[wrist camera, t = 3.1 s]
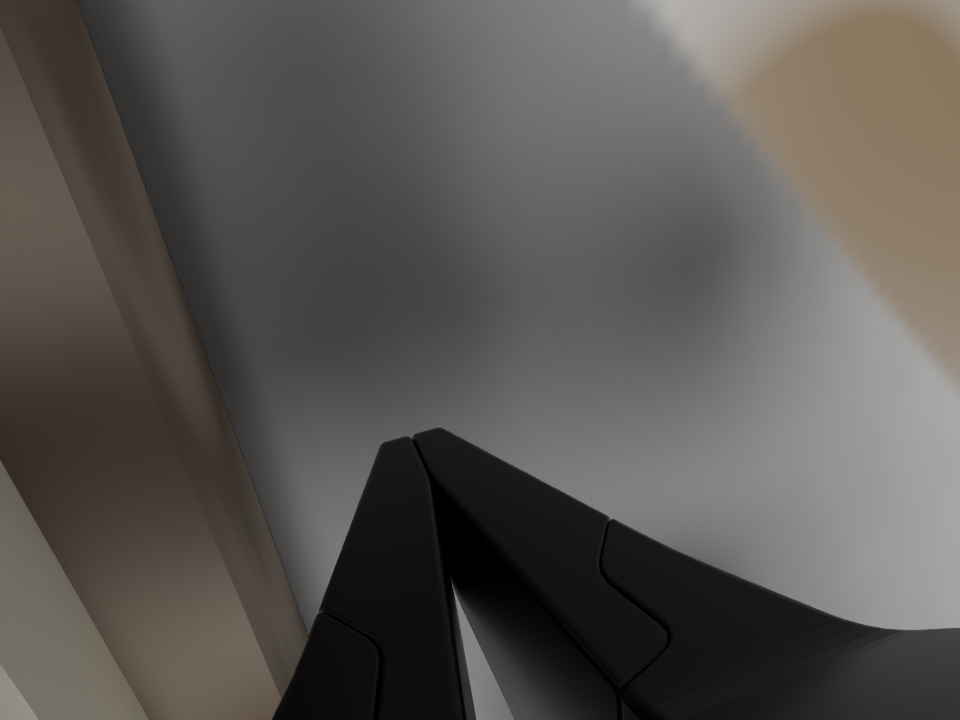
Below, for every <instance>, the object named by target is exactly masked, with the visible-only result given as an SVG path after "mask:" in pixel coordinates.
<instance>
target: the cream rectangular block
mask: <svg viewBox="0 0 960 720" xmlns="http://www.w3.org/2000/svg"><path fill="white" fill-rule="evenodd" d="M0 720H149V719H148V717H147V715H146V713H145V712H144V710H143V708H142V706H141V705H140V703H139V701H138V699H137V698H136V696H135V694H134V693H133V691H132V689H131V687H130V686H129V684H128V682H127V680H126V679H125V677H124V675H123V673H122V672H121V670H120V668H119V666H118V665H117V663H116V661H115V659H114V658H113V656H112V654H111V652H110V651H109V649H108V647H107V645H106V644H105V642H104V640H103V638H102V637H101V635H100V633H99V631H98V630H97V628H96V626H95V624H94V623H93V621H92V619H91V618H90V616H89V614H88V612H87V611H86V609H85V607H84V605H83V604H82V602H81V600H80V598H79V597H78V595H77V593H76V591H75V590H74V588H73V586H72V584H71V583H70V581H69V579H68V577H67V576H66V574H65V572H64V570H63V569H62V567H61V565H60V563H59V562H58V560H57V558H56V556H55V555H54V553H53V551H52V549H51V548H50V546H49V544H48V543H47V541H46V539H45V537H44V536H43V534H42V532H41V530H40V529H39V527H38V525H37V523H36V522H35V520H34V518H33V516H32V515H31V513H30V511H29V509H28V508H27V506H26V504H25V502H24V501H23V499H22V497H21V495H20V494H19V492H18V490H17V488H16V487H15V485H14V483H13V481H12V480H11V478H10V476H9V474H8V473H7V471H6V469H5V468H4V466H3V464H2V462H1V461H0Z"/></svg>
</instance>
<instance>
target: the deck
mask: <svg viewBox="0 0 960 720" xmlns="http://www.w3.org/2000/svg"><path fill="white" fill-rule="evenodd" d="M0 461H1V462H2V464H3V466H4V468H5V469H6V471H7V473H8V474H9V476H10V478H11V480H12V481H13V483H14V485H15V487H16V488H17V490H18V492H19V494H20V495H21V497H22V499H23V501H24V502H25V504H26V506H27V508H28V509H29V511H30V513H31V515H32V516H33V518H34V520H35V522H36V523H37V525H38V527H39V529H40V530H41V532H42V534H43V536H44V537H45V539H46V541H47V543H48V544H49V546H50V548H51V549H52V551H53V553H54V555H55V556H56V558H57V560H58V562H59V563H60V565H61V567H62V569H63V570H64V572H65V574H66V576H67V577H68V579H69V581H70V583H71V584H72V586H73V588H74V590H75V591H76V593H77V595H78V597H79V598H80V600H81V602H82V604H83V605H84V607H85V609H86V611H87V612H88V614H89V616H90V618H91V619H92V621H93V623H94V624H95V626H96V628H97V630H98V631H99V633H100V635H101V637H102V638H103V640H104V642H105V644H106V645H107V647H108V649H109V651H110V652H111V654H112V656H113V658H114V659H115V661H116V663H117V665H118V666H119V668H120V670H121V672H122V673H123V675H124V677H125V679H126V680H127V682H128V684H129V686H130V687H131V689H132V691H133V693H134V694H135V696H136V698H137V699H138V701H139V703H140V705H141V706H142V708H143V710H144V712H145V713H146V715H147V717H148V719H149V720H271V719H272V717H273V715H274V713H275V711H276V709H277V707H278V705H279V703H280V701H281V699H282V697H283V695H284V693H285V691H286V689H287V687H288V685H289V683H290V681H291V679H292V676H293V674H294V671H295V669H296V667H297V664H298V662H299V659H300V657H301V655H302V652H303V650H304V647H305V645H306V643H307V640H308V634H307V631H306V629H305V626H304V623H303V621H302V618H301V615H300V612H299V610H298V607H297V604H296V601H295V599H294V596H293V593H292V590H291V588H290V585H289V582H288V579H287V577H286V574H285V571H284V568H283V566H282V563H281V560H280V557H279V555H278V552H277V549H276V546H275V544H274V541H273V538H272V535H271V533H270V530H269V527H268V524H267V522H266V519H265V516H264V513H263V511H262V508H261V505H260V502H259V500H258V497H257V494H256V491H255V489H254V486H253V483H252V480H251V478H250V475H249V472H248V469H247V467H246V464H245V461H244V458H243V456H242V453H241V450H240V447H239V445H238V442H237V439H236V436H235V434H234V431H233V428H232V425H231V423H230V420H229V417H228V414H227V412H226V409H225V406H224V403H223V401H222V398H221V395H220V392H219V390H218V387H217V384H216V381H215V379H214V376H213V373H212V370H211V368H210V365H209V362H208V359H207V357H206V354H205V351H204V348H203V346H202V343H201V340H200V337H199V335H198V332H197V329H196V326H195V324H194V321H193V318H192V315H191V313H190V310H189V307H188V304H187V302H186V299H185V296H184V293H183V291H182V288H181V285H180V282H179V280H178V277H177V274H176V271H175V269H174V266H173V263H172V260H171V258H170V255H169V252H168V250H167V247H166V244H165V241H164V239H163V236H162V233H161V230H160V228H159V225H158V222H157V219H156V217H155V214H154V211H153V208H152V206H151V203H150V200H149V197H148V195H147V192H146V189H145V186H144V184H143V181H142V178H141V175H140V173H139V170H138V167H137V164H136V162H135V159H134V156H133V153H132V151H131V148H130V145H129V142H128V140H127V137H126V134H125V131H124V129H123V126H122V123H121V120H120V118H119V115H118V112H117V109H116V107H115V104H114V101H113V98H112V96H111V93H110V90H109V87H108V85H107V82H106V79H105V76H104V74H103V71H102V68H101V65H100V63H99V60H98V57H97V54H96V52H95V49H94V46H93V43H92V41H91V38H90V35H89V32H88V30H87V27H86V24H85V21H84V19H83V16H82V13H81V10H80V8H79V5H78V2H77V0H0Z"/></svg>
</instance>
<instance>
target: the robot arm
mask: <svg viewBox="0 0 960 720" xmlns="http://www.w3.org/2000/svg"><path fill="white" fill-rule="evenodd" d="M452 585H453V587H452ZM453 588H454V590H455V593H456V595H457V597H458V600H459V602H460V604H461V607H462V609H463V611H464V613H465V615H466V617H467V619H468V621H469V624H470V626H471V628H472V630H473V632H474V634H475V636H476V638H477V641H478V643H479V645H480V647H481V649H482V651H483V653H484V655H485V657H486V660H487V662H488V664H489V666H490V668H491V670H492V672H493V674H494V677H495V679H496V681H497V683H498V685H499V687H500V689H501V691H502V693H503V696H504V698H505V700H506V702H507V704H508V706H509V708H510V710H511V712H512V715H513V717H514V719H515V720H960V628H947V629H928V630H896V629H884V628H878V627H873V626H867V625H863V624H859V623H856V622H852V621H848V620H845V619H842V618H839V617H836V616H834V615H831V614H828V613H825V612H823V611H820V610H818V609H816V608H813V607H811V606H808V605H806V604H803V603H801V602H798V601H796V600H793V599H791V598H789V597H786V596H784V595H781V594H779V593H776V592H774V591H771V590H769V589H767V588H764V587H762V586H759V585H757V584H754V583H752V582H749V581H747V580H745V579H742V578H740V577H737V576H735V575H732V574H730V573H727V572H725V571H723V570H720V569H718V568H715V567H713V566H711V565H708V564H706V563H704V562H701V561H699V560H697V559H695V558H692V557H690V556H688V555H685V554H683V553H681V552H678V551H676V550H674V549H672V548H670V547H668V546H666V545H664V544H662V543H660V542H658V541H656V540H654V539H652V538H649V537H647V536H645V535H643V534H641V533H639V532H637V531H635V530H634V529H632V528H630V527H628V526H626V525H624V524H622V523H620V522H618V521H617V520H615V519H611V520H610V518H609V517H608V516H607V515H605V514H603V513H601V512H599V511H597V510H595V509H594V508H592V507H590V506H588V505H586V504H584V503H582V502H580V501H578V500H577V499H575V498H573V497H571V496H569V495H567V494H565V493H563V492H562V491H560V490H558V489H556V488H554V487H552V486H550V485H548V484H546V483H545V482H543V481H541V480H539V479H537V478H535V477H533V476H531V475H530V474H528V473H526V472H524V471H522V470H520V469H518V468H516V467H514V466H513V465H511V464H509V463H507V462H505V461H503V460H501V459H499V458H498V457H496V456H494V455H492V454H490V453H488V452H486V451H484V450H482V449H481V448H479V447H477V446H475V445H473V444H471V443H469V442H467V441H466V440H464V439H462V438H460V437H458V436H456V435H454V434H452V433H450V432H449V431H447V430H445V429H443V428H435V429H431V430H427V431H424V432H420V433H417V434H415V435H414V436H413V438H412V439H411V438H410V437H408V436H405V437H402V438H398V439H394V440H391V441H387V442H384V443H382V444H381V446H380V448H379V451H378V453H377V456H376V459H375V461H374V464H373V467H372V469H371V472H370V475H369V477H368V480H367V483H366V485H365V488H364V491H363V493H362V496H361V499H360V501H359V504H358V507H357V510H356V512H355V515H354V518H353V520H352V523H351V526H350V528H349V531H348V534H347V536H346V539H345V542H344V544H343V547H342V550H341V552H340V555H339V558H338V560H337V563H336V566H335V568H334V571H333V574H332V577H331V579H330V582H329V585H328V587H327V590H326V593H325V595H324V598H323V601H322V603H321V606H320V609H319V614H318V615H317V616H316V618H315V621H314V624H313V627H312V629H311V632H310V635H309V637H308V640H307V643H306V645H305V647H304V650H303V652H302V655H301V657H300V659H299V662H298V664H297V667H296V669H295V671H294V674H293V676H292V679H291V681H290V683H289V685H288V687H287V689H286V691H285V693H284V695H283V697H282V699H281V701H280V703H279V705H278V707H277V709H276V711H275V713H274V715H273V717H272V719H271V720H476V716H475V710H474V704H473V698H472V693H471V687H470V681H469V675H468V670H467V664H466V658H465V653H464V647H463V641H462V635H461V630H460V624H459V618H458V612H457V607H456V602H455V597H454V592H453Z"/></svg>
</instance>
